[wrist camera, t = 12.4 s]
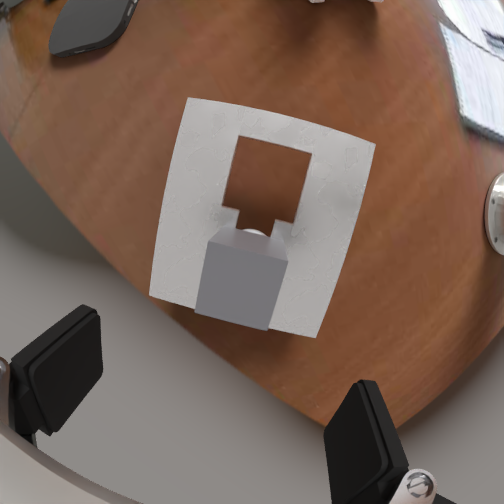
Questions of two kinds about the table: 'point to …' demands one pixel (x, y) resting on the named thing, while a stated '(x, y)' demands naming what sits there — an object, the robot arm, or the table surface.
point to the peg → (241, 277)
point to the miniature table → (293, 234)
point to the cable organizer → (317, 0)
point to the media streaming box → (89, 25)
